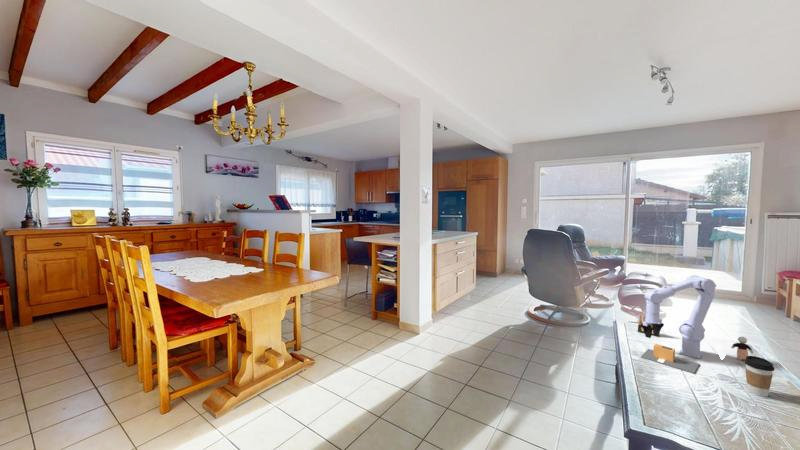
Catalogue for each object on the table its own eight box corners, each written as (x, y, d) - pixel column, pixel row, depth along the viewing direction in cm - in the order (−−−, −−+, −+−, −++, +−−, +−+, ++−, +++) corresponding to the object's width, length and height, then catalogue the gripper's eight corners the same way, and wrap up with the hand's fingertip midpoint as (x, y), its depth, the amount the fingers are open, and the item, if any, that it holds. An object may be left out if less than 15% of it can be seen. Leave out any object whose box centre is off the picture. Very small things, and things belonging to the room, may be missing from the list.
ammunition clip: (659, 336, 188) (659, 318, 188) (658, 337, 187) (659, 318, 186) (638, 331, 197) (638, 313, 196) (637, 331, 195) (638, 314, 195)
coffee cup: (762, 389, 133) (763, 356, 132) (779, 400, 125) (780, 366, 124) (737, 385, 136) (739, 354, 135) (752, 396, 128) (754, 363, 127)
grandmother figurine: (750, 360, 157) (751, 337, 157) (753, 363, 154) (754, 339, 154) (729, 356, 162) (730, 333, 161) (732, 359, 159) (733, 336, 158)
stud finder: (655, 354, 164) (655, 343, 164) (674, 359, 158) (675, 348, 158) (653, 356, 162) (653, 345, 162) (672, 362, 156) (673, 351, 155)
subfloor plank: (648, 349, 171) (648, 348, 171) (699, 364, 154) (699, 363, 154) (640, 357, 162) (640, 356, 162) (694, 374, 146) (694, 372, 146)
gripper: (653, 317, 160) (652, 341, 161) (668, 313, 166) (668, 336, 167) (638, 312, 167) (638, 336, 168) (654, 309, 172) (653, 331, 173)
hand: (652, 336), depth 168 cm, fingers open, 7 cm apart
